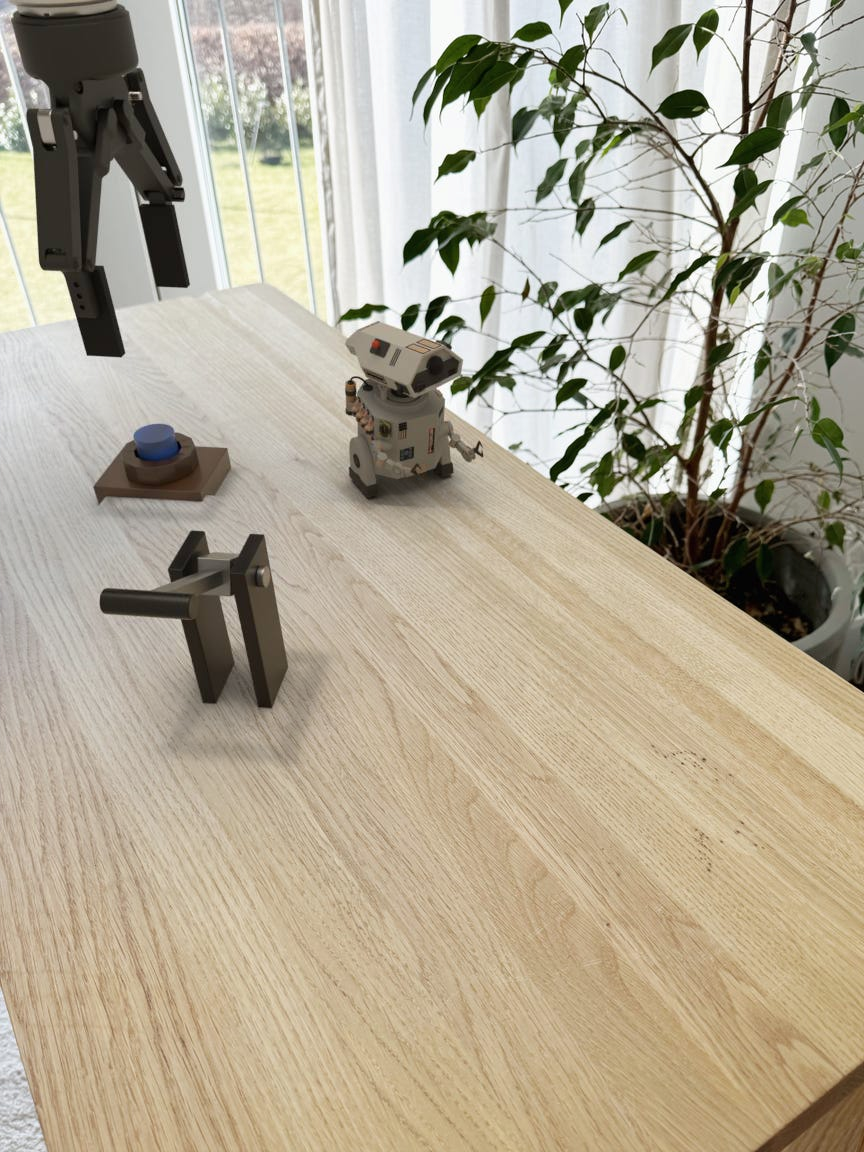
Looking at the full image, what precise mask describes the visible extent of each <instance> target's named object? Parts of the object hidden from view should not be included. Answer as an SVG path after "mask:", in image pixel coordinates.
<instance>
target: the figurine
mask: <svg viewBox="0 0 864 1152" xmlns="http://www.w3.org/2000/svg"><path fill="white" fill-rule="evenodd" d="M344 345H345V347H346V348H347V349H348V351H349V353H350V354H351V355H353V356H356V359H357V361H358V364H359V367H360V369H361V370H362V372H363V374H364V376H365V377H366V379H364V378H363V377H361V376H359V375H358V376H357V375H354V376H351V378H350V379H348V380H346V381H345V383H344V384H345V388H344V394H345V414H346V415H347V416H350V417H354V418H355V421H356V423H357V436H354V437H351V438H350V441H349V446H348V447H349V449H348V451H349V452H348V455H349V467H348V476H349V478H350V479H351V480H352V482H353V484H355V485H356V487H357V488H359V490H360V491H361V493H362V494H363V495H365V498H366V499H369V498H372V497H377V496H378V495H380V494H381V492H380V487H379V483H378V482H377V477H376V475H379V476H383V477H386V478H390V479H394V480H399V479H402V478H408V477H412V476H415V477H416V478H417V479H418V480H419V481H420V480H421V479H422V478H423V477H424V476H426V475H425V473H426V472H428V471H431V470H433V469H434V470H435V472H436V473H437V474H439V476H440V478H444V477H448V476H452V474H455V472H454V471H455V470H454V463H453V462H452V459H451V448H452V449H456V450H457V451H458V452H459V454H460V455H461V457H462V458H463V460H464V461H466V463H472V462H473V461H472V460H475V459H476V457H477V456H476V455H478V456H480V458H482V459H483V458H484V452H483V450H481V451H480V449H479V448H480V447H481V449H484V446H483V444H482V442H481V441H480V440H478V441H477V443H476V445H475V447H471V446H469V445H467V444H466V443H465V442H464V441H463V440H461V439H462V438H461V435H460V434H459V433H456V432H455V431H454V426H453V424H452V422H451V421H450V420H445V410H446V399H445V397H444V393H442V392H441V391H440V389H438V388H440V387H442V386H444V385H446V384H448V383H449V382H452V381H453V380H455V379H457V378H459V377H461V376H462V370H463V365H464V359H463V358H462V357H460V356H459V355H458V354H457V353H455V352H454V351H453V350H452V348H453V346H452V345H451V344H450V343H449V342H447V341H445V340H439V339H436V340H431V339H429V338H426V337H423V336H420V335H417V334H415V333H412V332H409V331H407V330H404V329H401V328H399V327H396V326H394V325H391V324H387V323H385V322H383V321H379V320H376V321H375V322H372V323H370V324H367V325H365V326H363V327H360V328H358V329H356V330H355V331H354V332H353V333H352V334H351V335H350V336H349V337H348V338H347V339H346V340H345V343H344ZM354 379H358V380H360V381H362V384H361V385H360V387H359V389H357V382H356V381H355V380H354ZM449 439H450V440H449ZM422 473H424V474H422ZM420 474H422V475H420Z"/></svg>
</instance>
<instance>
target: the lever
mask: <svg viewBox="0 0 864 1152" xmlns="http://www.w3.org/2000/svg"><path fill="white" fill-rule="evenodd" d="M239 554H240V553H236V552H234V553H233V552H220V551H213V552H210V554H207V555H204V556H201V557H198V558H197V565H198V572H197V573H195V574H192V575H190V576H187V577H184V578H182V579H179V580H176V581H174V582H171V581H170V582H168V583H166V584H164V585H160V586H158V587H156V588H153V589H150V590H146V589H132V588H131V589H130V588H117V587H105V588H103V589H102V591H100V595H99V609H100V611H101V613H102V614H104V615H110V616H111V615H113V616H126V617H127V616H129V617H141V618H143V617H144V618H154V619H155V618H157V619H170V620H171V619H173V620H181V619H184V620H193V619H194V618H195V617H196V615H197V611H198V599H197V596H199V595H213V596H220V597H233V596H234V592H233V587H232V583H231V578H230V571H231V569H232V567H233V566H234V564H235V562H236V560H237V558H238V556H239Z"/></svg>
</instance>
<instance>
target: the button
mask: <svg viewBox="0 0 864 1152" xmlns="http://www.w3.org/2000/svg"><path fill="white" fill-rule="evenodd" d="M133 440H134V441H135V445H136V449H137V453H138V456H139V458H140V459H141V460H143V461H159V460H164V459H168V458H170V457H172V456H174V455H176V454H178V451H179V449H178V445H177V440H176V436H175V429H174V427H173V426H171V425H170V424H166V423H152V424H146V425H144V426H141V427H139V428H138V429H136V430H135V431H134V433H133Z"/></svg>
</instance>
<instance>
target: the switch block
mask: <svg viewBox="0 0 864 1152" xmlns="http://www.w3.org/2000/svg"><path fill="white" fill-rule="evenodd" d="M174 432H175V431H174ZM175 436H176V440H177V445H178V449H179V451H178V454H176V455H174V456H172V457H170V458H168V459H164V460H159V461H143V460H141V459H140V458H139V456H138V453H137V449H136V445H135V441H134V439H132V440H130V441H128V442H126V443H125V444H124V445H123V447H122V449H121V450H120V451H119V453H117V455H116V456H115V457H114V458H113V460H112V461H111V462H110V464H109V465H108V467H107V468H106V469H105V471H103V473H102V474H101V475H100V477H99V478H98V479H97V481H96V482H95V483H94V485H93V491H94V494H95V497H96V501H97V504H98V506H100V505H101V504H102V502H103V501H104V500H105V499H106V498H107V497H110V498H111V497H114V498H131V499H147V500H149V499H151V500H165V501H166V500H168V501H185V502H186V501H187V502H203V501H204V500H205V498H206V497H207V496H214V497H215V496H216V494H217V493H218V491H219V489H220V487H221V486H222V484H223V482H224V481H225V479H226V477H228V474H229V472H230V470H231V469H232V464H231V459H230V454H229V449H228V447H221V446H219V447H217V446H215V447H214V446H198V445H197V446H196V444H195V442H194V440H193V438H192V437H191V436H188V435H186V434H183V433H181V432H175Z"/></svg>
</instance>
